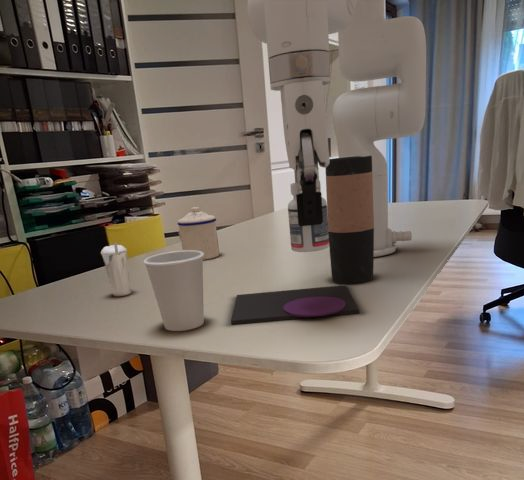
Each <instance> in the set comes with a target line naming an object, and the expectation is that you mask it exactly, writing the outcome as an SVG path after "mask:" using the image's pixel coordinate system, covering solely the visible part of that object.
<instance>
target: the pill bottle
mask: <svg viewBox="0 0 524 480" xmlns="http://www.w3.org/2000/svg"><path fill="white" fill-rule="evenodd" d="M319 184H320V192H321V193H322V187H321V186H322V185H321V180H319ZM297 194H298V185H297V183H295V182H292V183H290V195H291V196H293V198H292V199H291V200H290V201H289V202H288V204H287V215H288V225H289V236H290V238H289V239H290V249H291V251H293V252H295V253H296V252H297V253H311V252H319V251H323V250H326V249H328V248H329V234H328V232H329V231H328V217H327V199H325V198H324V197H322V214H323V223H322V224H319V225H309V226H299V224H298V213H297V199H296V195H297Z"/></svg>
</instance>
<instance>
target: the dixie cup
mask: <svg viewBox="0 0 524 480" xmlns="http://www.w3.org/2000/svg"><path fill="white" fill-rule="evenodd" d="M203 256H204V253H203V252H201V251H196V250H184V251H183V250H175V251H166V252H162V253H157V254H153V255H151V256H148V257H146V258H145V259H144V260H143V264H144V265H145V267H146V271H147V273H148V276H149V281H150V284H151V287H152V290H153V293H154V297H155V299H156V300H155V301H156V304H157V307H158V310H159V313H160V316H161V321H162V322H163V326H164V329H165V330H167V331H171V332H182V331H189V330H190V331H191V330H194V329H196V328H199V327H201V326H202V325H204V323H205V320H204V319H205V318H204V317H205V316H204V315H205V314H204V313H205V311H204V310H205V309H204V264H203V263H204V260H203Z"/></svg>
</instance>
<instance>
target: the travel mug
mask: <svg viewBox="0 0 524 480" xmlns="http://www.w3.org/2000/svg"><path fill="white" fill-rule="evenodd" d="M329 160H330V163H329V165H328V166H327V167H324V168H325V188H326V189H325V191H326V203H327V219H328V234H329V247H328V248H329V257H330V259H329V260H330V270H331V271H330V272H331V280H332V282H334V283H336V284H342V285H355V284H362V283H367V282H369V281H372V280H373V279H374V265H375V264H374V263H375V260H374V258H375V257H374V213H373V179H372V156H365V157H361V156H354V157H344V158H339V157H335V158H329Z"/></svg>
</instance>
